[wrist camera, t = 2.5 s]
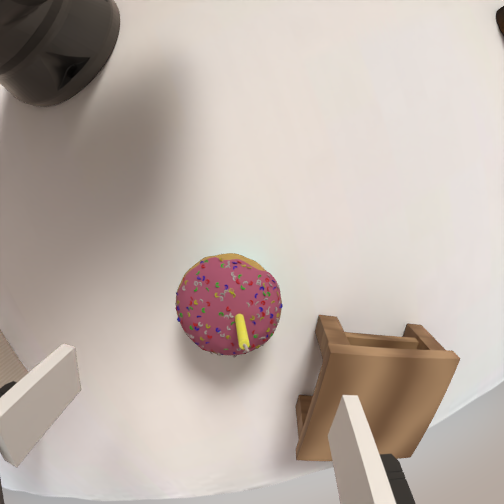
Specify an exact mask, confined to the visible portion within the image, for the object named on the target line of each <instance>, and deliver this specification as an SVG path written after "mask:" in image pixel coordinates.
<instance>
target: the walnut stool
mask: <svg viewBox="0 0 504 504" xmlns="http://www.w3.org/2000/svg"><path fill="white" fill-rule="evenodd" d="M315 333H316V336H317V340H318V343H319V346H320V350H321V353H322V357H323V363H322V366H321V370H320V373H319V377H318V380H317V384H316V387H315V391H314V394H313V396H309V395H299V397H298V401H297V404H296V415H297V426H298V436H299V441H298V444H297V447H296V460H306V461H332V456H331V450H330V445H329V440H328V433H329V431H330V428H331V426H332V423H333V420H334V418H335V415H336V412H337V409H338V406H339V404H340V401H341V398H342V395H358V398H359V400H360V403H361V405H362V408H363V411H364V413H365V416H366V419H367V422H368V424H369V427H370V430H371V432H372V435H373V438H374V441H375V444H376V446H377V449H378V452H379V454H392V455H393V456H394V457H395V458H396V459H398V458H408V457H411V455H412V454H413V452H414V451H415V449H416V447H417V446H418V444H419V442H420V441H421V439H422V437H423V435H424V433H425V432H426V430H427V428H428V426H429V424H430V423H431V421H432V419H433V417H434V415H435V413H436V411H437V409H438V407H439V405H440V403H441V401H442V399H443V397H444V395H445V393H446V391H447V388H448V386H449V384H450V382H451V379H452V377H453V375H454V373H455V370H456V368H457V365H458V363H459V361H460V358H459V357H458V356H457V355H456V354H455V353H454V352H453V351H446V350H445V349H444V348H443V347H442V346H441V345H440V344H439V343H438V342H437V341H436V340H435V339H434V337H433V336H432V335H431V334H430V333H429V332H428V331H427V330H426V329H425V328H424V327H423V326H422V325H415V324H407V326H406V329H405V332H404V335H403V337H396V336H383V335H371V334H360V333H349V332H344V330H343V328H342V326H341V324H340V322H339V320H338V318H337V317H334V316H325V315H319V317H318V321H317V326H316V330H315Z"/></svg>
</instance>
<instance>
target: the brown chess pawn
mask: <svg viewBox="0 0 504 504" xmlns="http://www.w3.org/2000/svg"><path fill="white" fill-rule="evenodd" d="M496 19H497V23H498V25H499V27H500V30H501V32H502V33H503V35H504V6H503V7H501V8H500V9H499V10H498V11H497V13H496Z"/></svg>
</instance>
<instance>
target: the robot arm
mask: <svg viewBox="0 0 504 504" xmlns="http://www.w3.org/2000/svg"><path fill="white" fill-rule="evenodd" d="M119 28H120V14H119V10H118V7H117V5H116V3H115V2H114V0H0V84H1V85H2V86H4V87H5V88H6V89H7V90H8V91H9V92H10V93H11V94H12V95H13V96H14V97H15V98H16V99H18V100H20V101H21V102H24V103H27V104H31V105H35V106H40V107H47V106H52V105H56V104H59V103H61V102H63V101H65V100H67V99H69V98H71V97H72V96H74V95H75V94H77V93H78V92H79V91H80V90H82V89H83V88H84V87H85V86H86V85H87V84H88V83H89V82H90V81H91V80H92V79H93V78H94V77H95V76H96V75H97V73H98V72H99V71H100V70H101V68H102V67H103V65H104V64H105V62H106V61H107V59H108V57H109V56H110V54H111V52H112V50H113V48H114V45H115V43H116V40H117V37H118V33H119ZM80 391H81V385H80V379H79V372H78V365H77V358H76V350H75V347H73V346H70V345H67V344H64V343H63V344H62V345H61V346H60V347H58V348H57V349H56V350H55V351H54V352H52V353H51V354H50V355H49V356H48V357H46V358H45V359H44V360H43V361H42V362H41V363H39V364H38V365H37V366H36V367H35V368H34V369H32V370H31V371H30V372H29V373H28V374H27V375H26V376H24V377H23V378H22V379H21V380H20V381H19V382H18V383H17V382H15V381H12V382H10V383H7V384H5V385H4V386H2V387H1V388H0V452H1V454H2V456H3V458H4V460H5V461H7V462H9V463H10V464H12V465H13V466H15V467H18V466H19V464H20V463H21V462H22V461H23V459H24V458H25V457H26V456H27V454H28V453H29V452H30V451H31V450H32V448H33V447H34V446H35V445H36V443H37V442H38V441H39V440H40V438H41V437H42V436H43V435H44V434H45V432H46V431H47V430H48V429H49V428H50V426H51V425H52V424H53V423H54V422H55V420H56V419H57V418H58V417H59V416H60V414H61V413H62V412H63V411H64V410H65V408H66V407H67V406H68V405H69V404H70V403H71V401H72V400H73V399H74V398H75V397H76V396H77V394H78V393H79V392H80ZM328 440H329V445H330V450H331V456H332V461H333V466H334V471H335V477H336V482H337V487H338V493H339V499H340V504H415V501H414V499H413V496H412V494H411V491H410V488H409V486H408V483H407V481H406V479H405V475H404V473H403V472H402V468H401V465H400V463H399V461H398V460H397V459H396V458H395V457H394V456H393V455H392V454H379V452H378V449H377V446H376V444H375V441H374V438H373V435H372V432H371V430H370V427H369V424H368V422H367V419H366V416H365V413H364V411H363V408H362V405H361V403H360V400H359V398H358V395H342V398H341V401H340V404H339V406H338V409H337V412H336V415H335V418H334V420H333V423H332V426H331V428H330V431H329V433H328ZM0 504H4V499H3V493H2V486H1V479H0Z"/></svg>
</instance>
